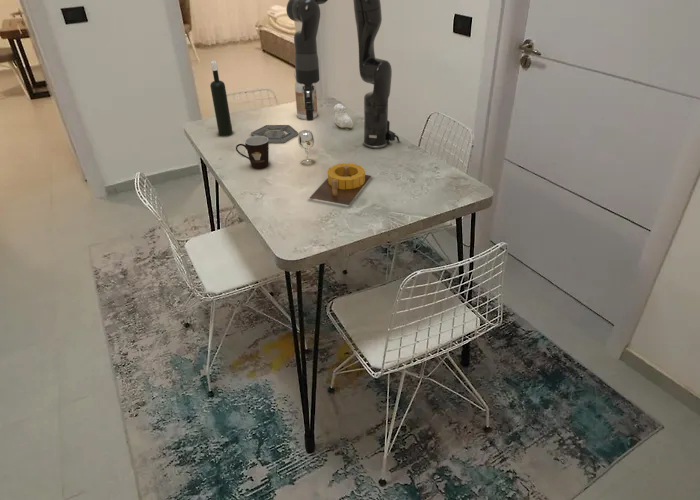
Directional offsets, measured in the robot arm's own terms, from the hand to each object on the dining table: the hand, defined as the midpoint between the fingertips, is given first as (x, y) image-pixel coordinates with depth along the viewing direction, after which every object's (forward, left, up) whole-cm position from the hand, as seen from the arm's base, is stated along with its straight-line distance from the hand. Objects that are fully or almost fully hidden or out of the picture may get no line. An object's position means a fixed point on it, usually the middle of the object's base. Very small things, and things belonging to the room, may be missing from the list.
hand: (310, 115), depth 166 cm
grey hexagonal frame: (-3, -41, -22) cm, 46 cm away
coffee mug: (+15, -18, -22) cm, 32 cm away
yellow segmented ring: (-6, +13, -20) cm, 25 cm away
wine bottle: (+14, -54, -22) cm, 60 cm away
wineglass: (-2, -9, -22) cm, 23 cm away
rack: (-2, +16, -21) cm, 27 cm away
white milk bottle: (-25, -53, -22) cm, 62 cm away
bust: (-32, -33, -22) cm, 51 cm away
